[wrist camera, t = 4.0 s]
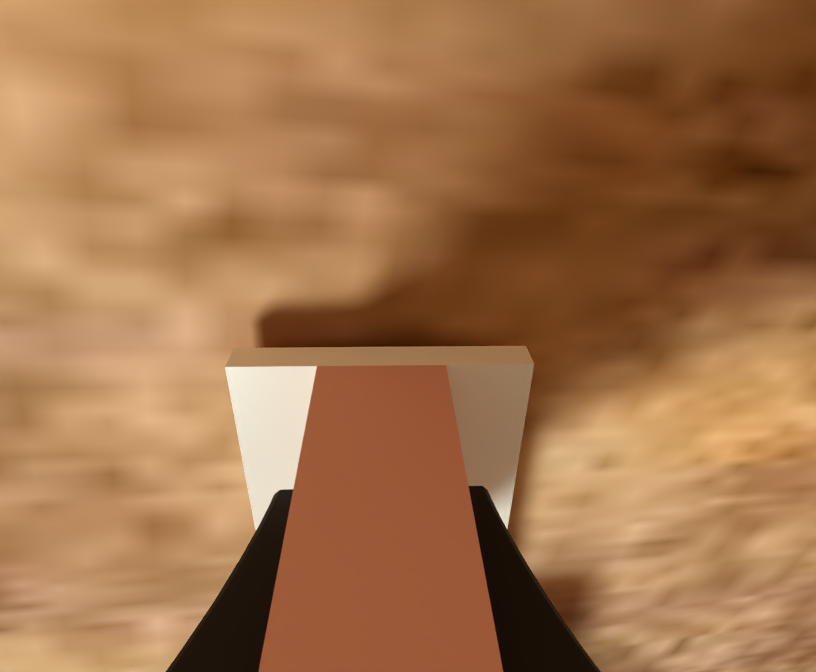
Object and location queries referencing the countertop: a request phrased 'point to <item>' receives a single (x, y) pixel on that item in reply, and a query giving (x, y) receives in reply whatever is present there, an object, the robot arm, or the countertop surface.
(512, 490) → the pink and white block
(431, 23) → the countertop surface
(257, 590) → the robot arm
